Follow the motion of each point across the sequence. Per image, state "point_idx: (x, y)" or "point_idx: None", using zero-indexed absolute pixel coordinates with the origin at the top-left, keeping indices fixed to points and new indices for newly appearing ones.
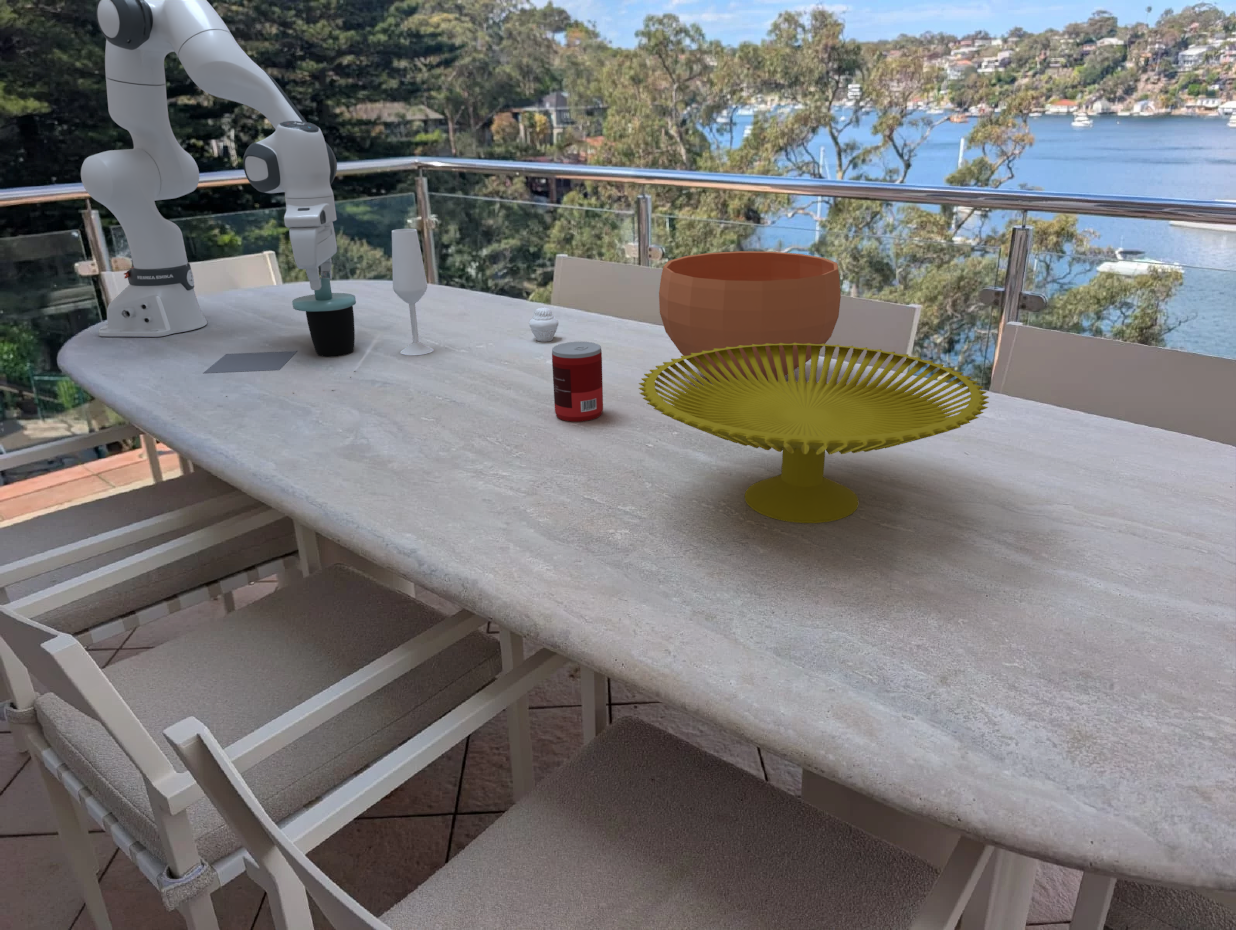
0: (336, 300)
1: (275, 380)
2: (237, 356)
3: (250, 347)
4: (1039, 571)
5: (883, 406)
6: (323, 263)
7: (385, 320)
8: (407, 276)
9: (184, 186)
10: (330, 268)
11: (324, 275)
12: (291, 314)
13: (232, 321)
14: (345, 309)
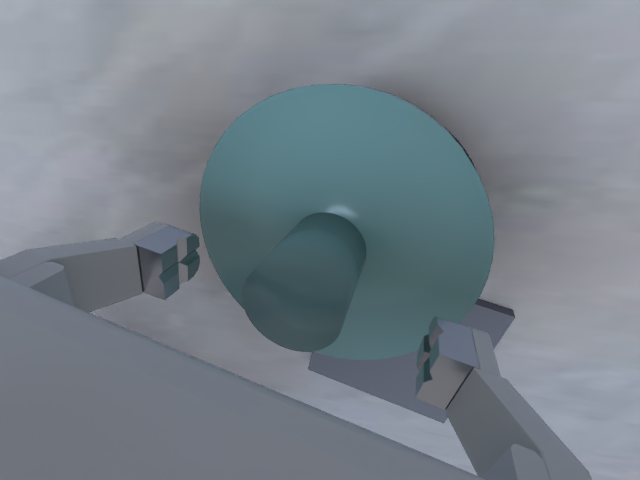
0: (400, 199)
1: (574, 326)
2: (336, 359)
3: (244, 321)
4: None
5: None
6: (75, 299)
7: (26, 4)
8: None
9: None
10: (114, 249)
11: (177, 271)
12: (15, 228)
13: None
14: (464, 150)
